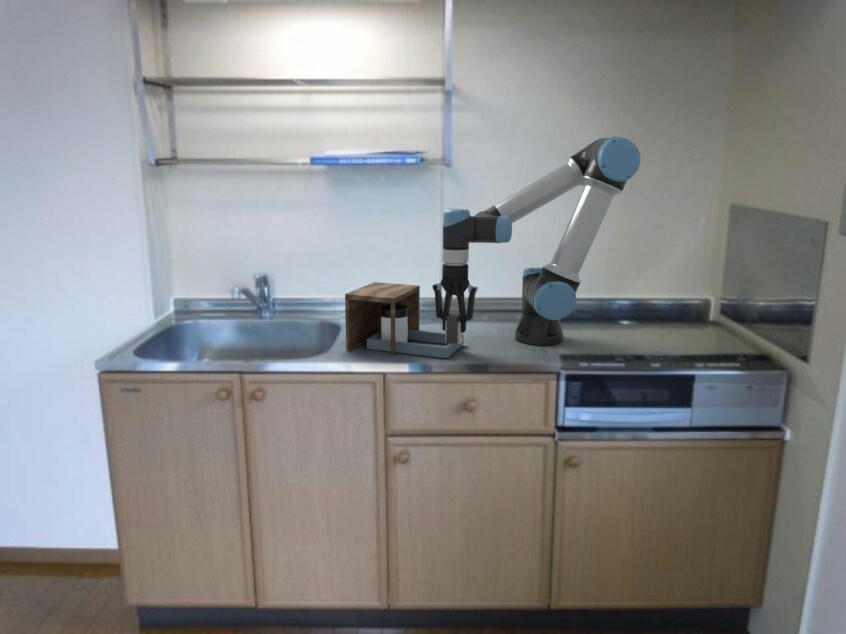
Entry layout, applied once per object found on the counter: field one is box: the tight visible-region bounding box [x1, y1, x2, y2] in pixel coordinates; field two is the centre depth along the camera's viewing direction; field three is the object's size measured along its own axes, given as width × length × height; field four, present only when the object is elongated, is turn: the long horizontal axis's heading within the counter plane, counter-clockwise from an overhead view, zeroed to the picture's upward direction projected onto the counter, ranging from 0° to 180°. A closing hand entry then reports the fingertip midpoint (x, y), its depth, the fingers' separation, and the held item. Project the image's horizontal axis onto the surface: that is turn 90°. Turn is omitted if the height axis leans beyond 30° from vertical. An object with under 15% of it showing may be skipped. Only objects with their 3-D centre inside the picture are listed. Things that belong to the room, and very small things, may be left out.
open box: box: [344, 281, 421, 356], centre depth 205 cm, size 16×20×17 cm
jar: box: [381, 304, 408, 342], centre depth 204 cm, size 9×8×12 cm
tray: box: [366, 312, 465, 359], centre depth 201 cm, size 26×15×11 cm, turn 69°
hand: (453, 341), depth 198 cm, fingers closed on tray, 3 cm apart
